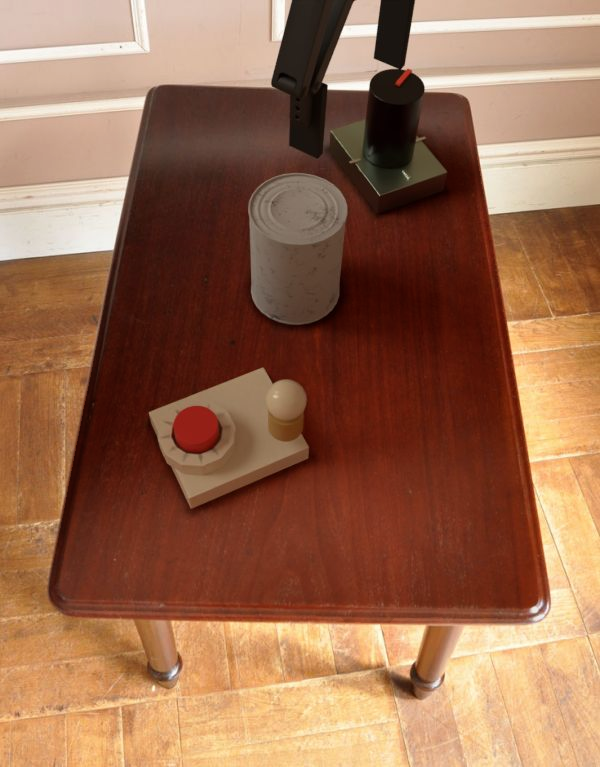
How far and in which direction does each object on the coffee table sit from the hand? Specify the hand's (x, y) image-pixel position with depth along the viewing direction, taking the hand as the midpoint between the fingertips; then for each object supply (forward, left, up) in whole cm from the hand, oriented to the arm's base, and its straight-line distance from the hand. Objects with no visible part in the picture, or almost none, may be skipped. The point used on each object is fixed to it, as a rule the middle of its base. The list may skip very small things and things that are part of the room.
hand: (349, 104), depth 72 cm
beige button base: (+12, -17, -25) cm, 33 cm away
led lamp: (+15, -13, -21) cm, 29 cm away
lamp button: (+12, -20, -21) cm, 32 cm away
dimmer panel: (-14, +15, -25) cm, 32 cm away
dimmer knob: (-14, +15, -22) cm, 30 cm away
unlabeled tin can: (-2, -3, -25) cm, 25 cm away
